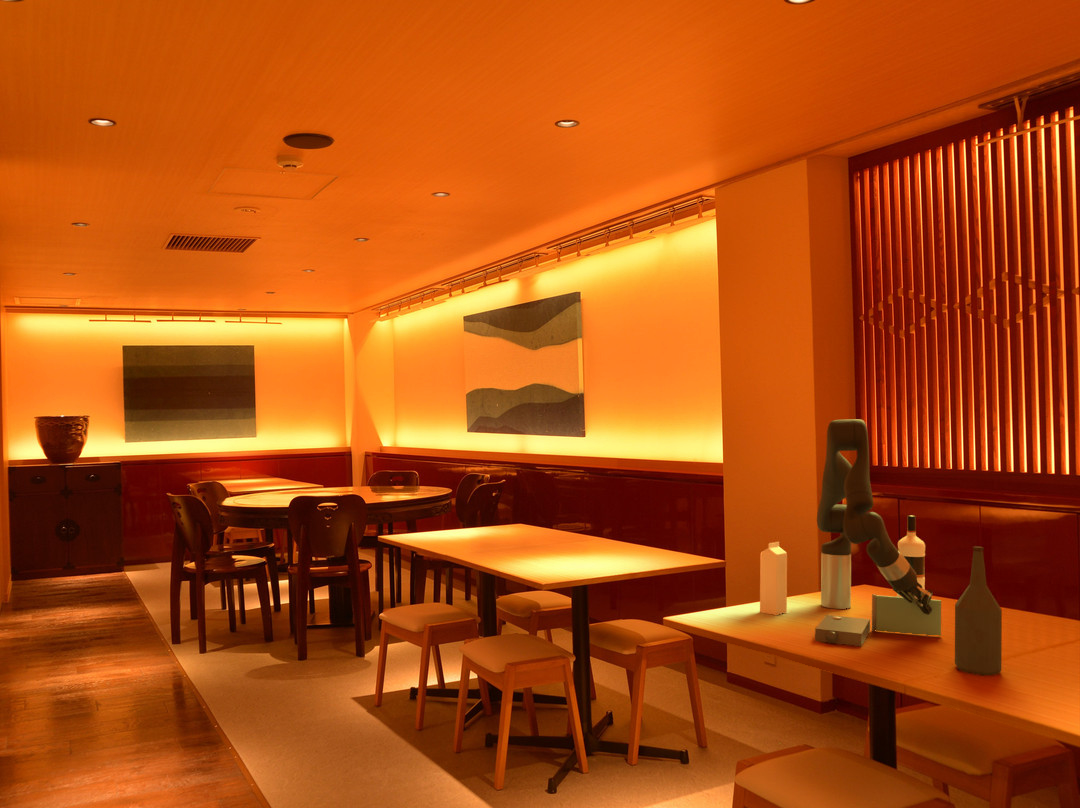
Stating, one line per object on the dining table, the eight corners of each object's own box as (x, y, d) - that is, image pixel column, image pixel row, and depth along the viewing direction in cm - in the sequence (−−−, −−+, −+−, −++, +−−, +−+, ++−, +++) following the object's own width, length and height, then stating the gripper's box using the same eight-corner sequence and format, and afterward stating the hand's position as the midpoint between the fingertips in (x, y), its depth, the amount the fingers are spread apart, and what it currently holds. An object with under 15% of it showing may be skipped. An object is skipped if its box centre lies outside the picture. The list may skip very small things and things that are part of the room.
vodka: (923, 611, 285) (923, 517, 286) (892, 608, 291) (893, 515, 291) (929, 607, 293) (929, 515, 294) (899, 603, 298) (899, 513, 299)
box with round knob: (826, 626, 262) (826, 613, 262) (870, 631, 257) (870, 617, 257) (814, 642, 243) (814, 628, 243) (860, 648, 238) (860, 633, 238)
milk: (786, 613, 281) (788, 542, 281) (776, 615, 277) (777, 544, 277) (769, 609, 285) (771, 540, 286) (759, 612, 281) (760, 542, 282)
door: (871, 631, 257) (872, 594, 257) (871, 630, 258) (872, 594, 258) (941, 637, 250) (941, 600, 251) (940, 636, 251) (941, 599, 252)
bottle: (1004, 669, 219) (1004, 546, 219) (998, 678, 211) (999, 550, 211) (958, 662, 225) (958, 542, 225) (951, 671, 216) (951, 546, 217)
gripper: (922, 563, 242) (955, 606, 246) (885, 556, 254) (917, 597, 258) (907, 583, 239) (940, 627, 244) (870, 575, 252) (903, 617, 256)
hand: (928, 611), depth 251 cm, fingers closed
